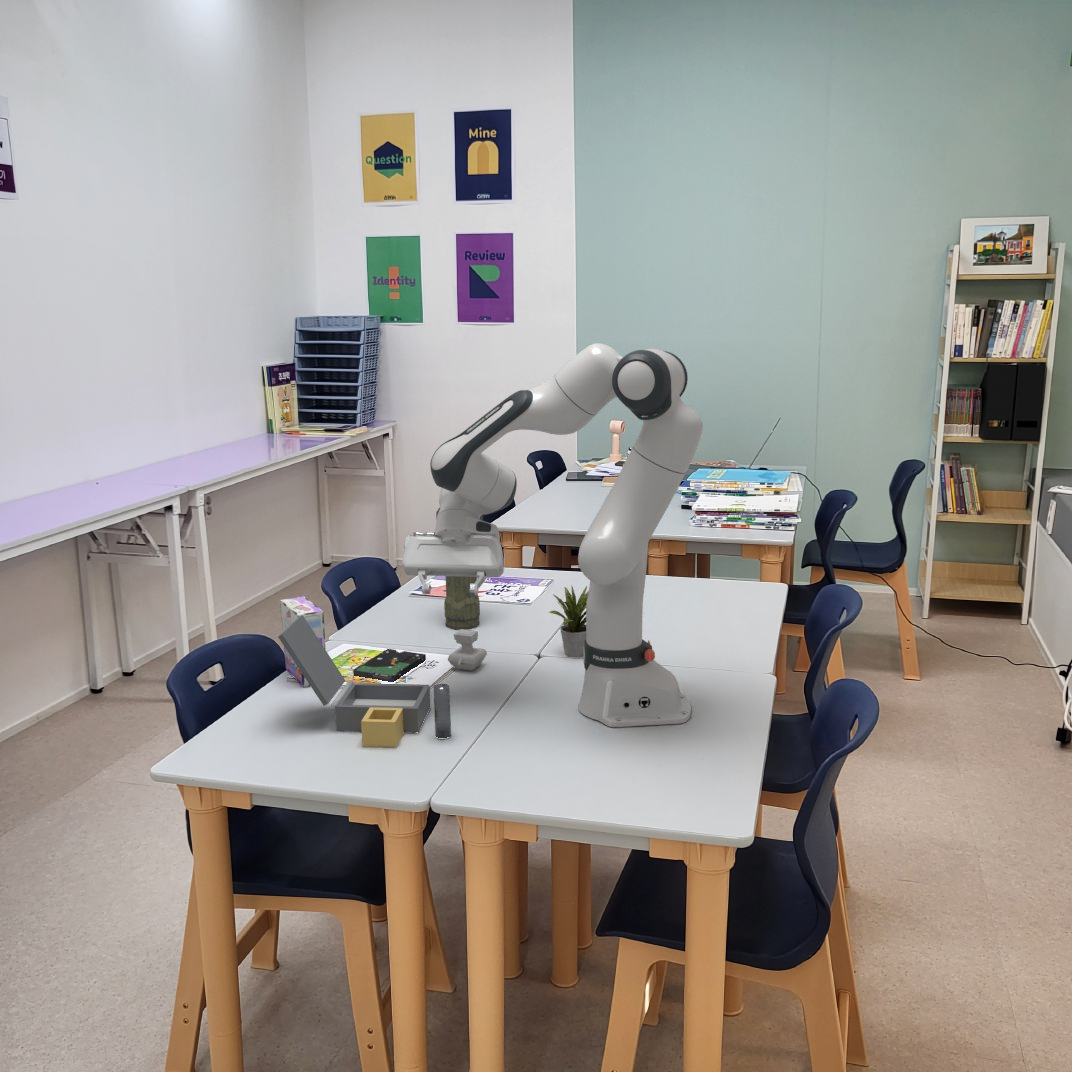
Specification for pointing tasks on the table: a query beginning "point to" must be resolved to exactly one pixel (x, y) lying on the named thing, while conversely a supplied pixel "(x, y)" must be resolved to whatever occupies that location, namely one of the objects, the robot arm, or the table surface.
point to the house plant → (573, 623)
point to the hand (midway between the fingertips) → (449, 593)
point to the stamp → (466, 651)
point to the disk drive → (389, 665)
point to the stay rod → (442, 710)
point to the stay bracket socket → (382, 727)
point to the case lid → (312, 659)
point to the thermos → (461, 602)
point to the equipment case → (381, 703)
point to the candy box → (314, 618)
